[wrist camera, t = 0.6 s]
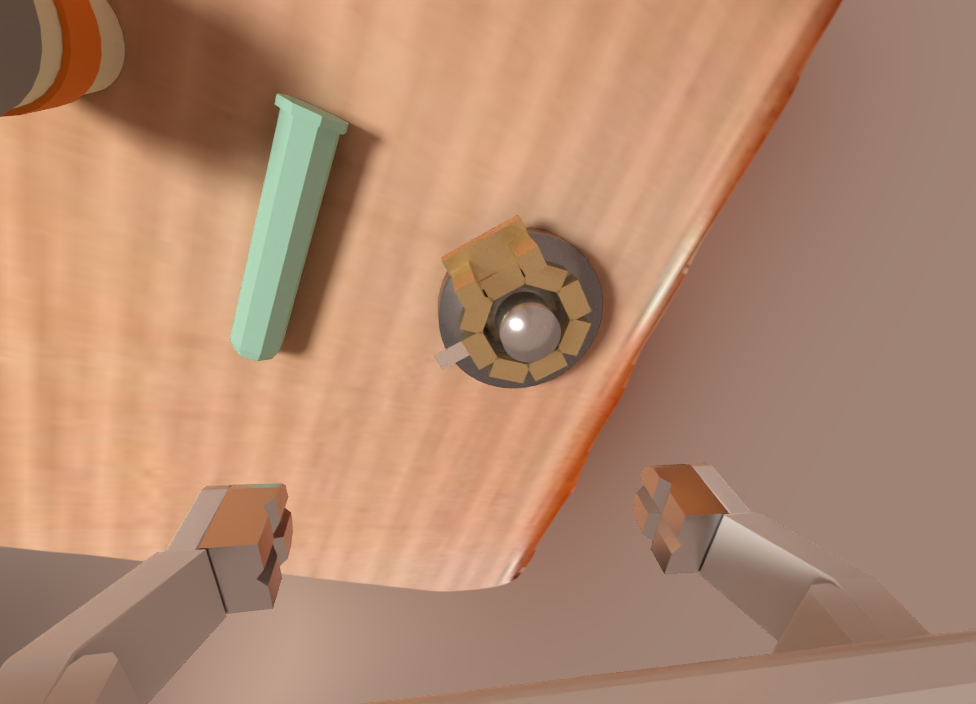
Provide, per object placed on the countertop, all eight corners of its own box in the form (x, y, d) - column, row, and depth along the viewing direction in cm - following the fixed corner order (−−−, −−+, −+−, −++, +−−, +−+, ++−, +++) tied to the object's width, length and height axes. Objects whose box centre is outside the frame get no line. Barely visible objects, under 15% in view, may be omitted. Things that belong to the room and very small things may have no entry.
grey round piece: (463, 206, 46) (471, 222, 39) (618, 253, 50) (649, 274, 44) (420, 358, 53) (421, 393, 47) (559, 387, 58) (577, 422, 51)
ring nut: (600, 338, 51) (625, 369, 45) (495, 391, 53) (506, 428, 47) (541, 201, 43) (561, 217, 37) (419, 269, 45) (419, 294, 38)
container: (259, 377, 45) (325, 119, 35) (208, 350, 45) (260, 86, 35) (295, 357, 50) (362, 128, 41) (249, 333, 51) (305, 99, 41)
